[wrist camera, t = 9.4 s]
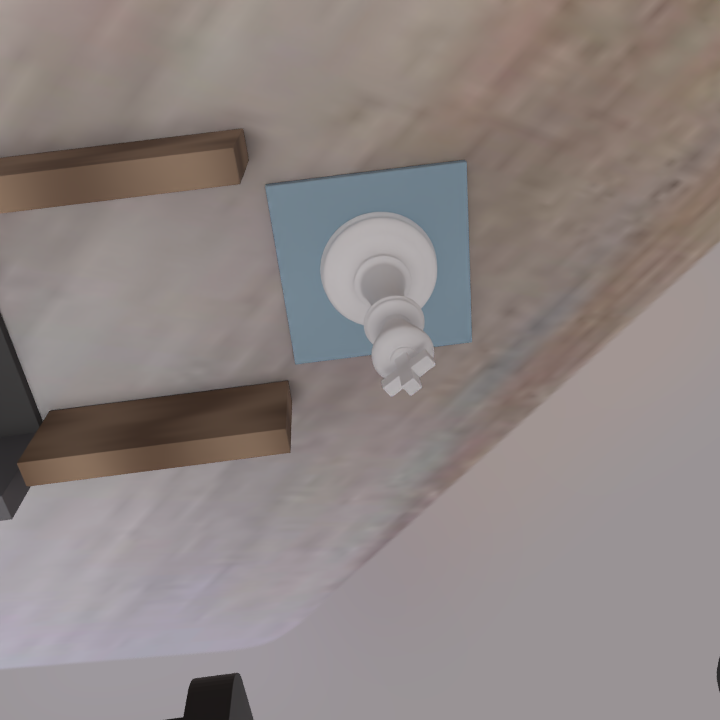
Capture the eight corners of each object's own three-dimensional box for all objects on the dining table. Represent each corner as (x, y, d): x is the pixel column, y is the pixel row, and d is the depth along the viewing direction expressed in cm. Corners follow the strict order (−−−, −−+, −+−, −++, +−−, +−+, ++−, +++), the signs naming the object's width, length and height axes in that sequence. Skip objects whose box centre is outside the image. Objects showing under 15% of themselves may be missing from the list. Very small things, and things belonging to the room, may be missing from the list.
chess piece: (459, 274, 29) (527, 393, 20) (369, 342, 30) (396, 483, 21) (388, 186, 27) (429, 274, 18) (295, 262, 28) (291, 380, 19)
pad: (464, 159, 27) (466, 161, 27) (470, 338, 31) (471, 342, 30) (265, 184, 27) (265, 186, 27) (295, 360, 31) (295, 364, 30)
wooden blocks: (243, 128, 26) (233, 147, 22) (291, 402, 32) (290, 452, 28) (-45, 163, 26) (-100, 188, 22) (58, 432, 32) (26, 486, 28)
